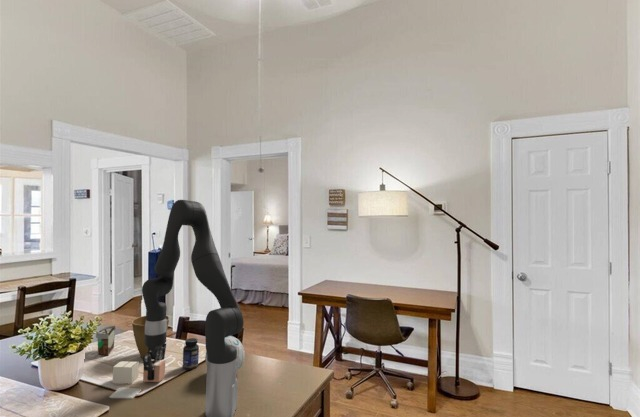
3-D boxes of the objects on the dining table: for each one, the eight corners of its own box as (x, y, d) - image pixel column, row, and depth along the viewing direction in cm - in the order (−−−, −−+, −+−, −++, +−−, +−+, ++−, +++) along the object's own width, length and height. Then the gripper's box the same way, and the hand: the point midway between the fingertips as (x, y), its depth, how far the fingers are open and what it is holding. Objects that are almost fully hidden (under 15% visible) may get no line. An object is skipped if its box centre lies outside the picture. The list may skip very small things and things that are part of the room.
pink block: (164, 376, 132) (165, 360, 132) (159, 382, 127) (159, 365, 127) (149, 375, 132) (149, 359, 132) (143, 381, 127) (143, 364, 127)
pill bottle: (192, 370, 139) (193, 343, 139) (179, 369, 140) (180, 341, 140) (201, 364, 145) (202, 338, 145) (188, 362, 146) (189, 336, 146)
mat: (141, 389, 123) (141, 388, 123) (132, 398, 117) (132, 397, 117) (119, 389, 123) (119, 388, 123) (109, 398, 117) (109, 396, 117)
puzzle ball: (196, 377, 134) (197, 338, 134) (225, 363, 147) (226, 327, 147) (224, 387, 126) (225, 346, 126) (252, 372, 139) (253, 334, 139)
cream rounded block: (138, 377, 132) (138, 361, 132) (131, 383, 127) (132, 367, 127) (120, 377, 132) (120, 361, 132) (112, 383, 127) (113, 366, 127)
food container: (99, 347, 160) (100, 326, 160) (114, 346, 162) (115, 325, 162) (90, 358, 148) (91, 335, 148) (107, 357, 150) (108, 334, 150)
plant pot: (132, 351, 157) (134, 316, 157) (168, 347, 162) (169, 313, 163) (128, 364, 143) (130, 326, 143) (167, 359, 149) (169, 322, 149)
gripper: (156, 337, 123) (154, 386, 122) (173, 325, 137) (172, 368, 137) (135, 337, 123) (133, 385, 122) (155, 324, 137) (153, 368, 137)
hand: (154, 376), depth 130 cm, fingers closed on pink block, 4 cm apart
